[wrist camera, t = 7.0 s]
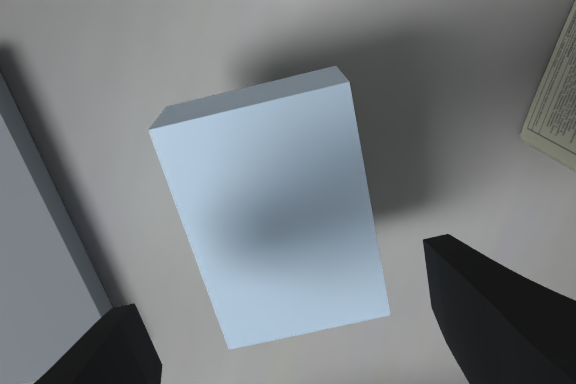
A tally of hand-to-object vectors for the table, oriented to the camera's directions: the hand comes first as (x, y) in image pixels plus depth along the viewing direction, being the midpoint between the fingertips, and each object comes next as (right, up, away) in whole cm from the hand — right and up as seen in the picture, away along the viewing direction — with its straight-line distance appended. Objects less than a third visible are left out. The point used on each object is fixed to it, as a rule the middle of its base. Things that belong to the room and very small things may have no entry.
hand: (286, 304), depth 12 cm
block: (0, +3, +5) cm, 6 cm away
